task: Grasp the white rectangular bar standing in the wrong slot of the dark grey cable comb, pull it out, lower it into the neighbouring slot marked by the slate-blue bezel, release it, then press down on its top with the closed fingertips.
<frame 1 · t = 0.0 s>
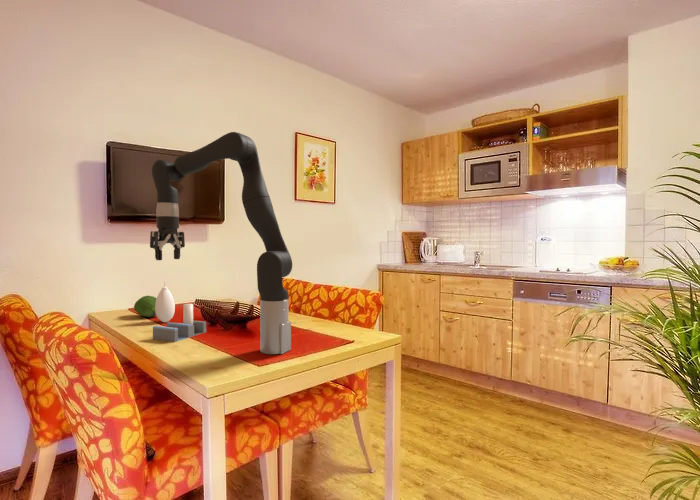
hand: (168, 259, 147), 29 cm above the table, fingers open, 8 cm apart
white rectangular bar: (188, 333, 152), point 1 cm above the table, touching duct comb
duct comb: (180, 338, 148), on the table
fruit: (147, 317, 188), on the table
white egg candle: (165, 322, 176), on the table
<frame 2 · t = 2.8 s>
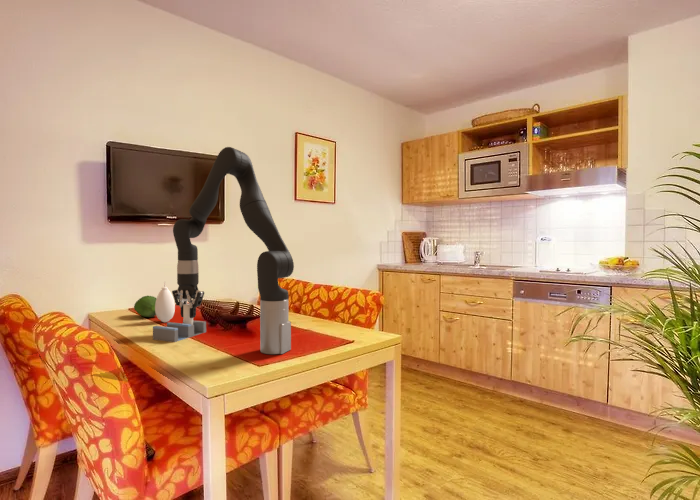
hand: (188, 316, 152), 7 cm above the table, fingers closed on white rectangular bar, 3 cm apart
white rectangular bar: (188, 333, 152), point 1 cm above the table, touching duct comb, gripper
everything else where it was.
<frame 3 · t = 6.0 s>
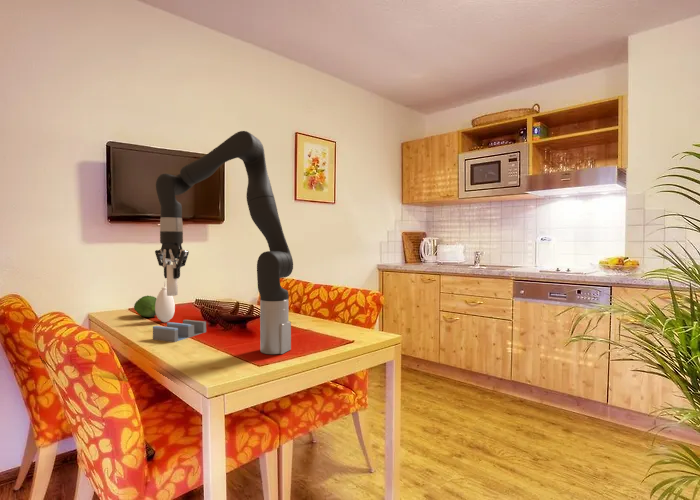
hand: (171, 278, 144), 23 cm above the table, fingers closed on white rectangular bar, 3 cm apart
white rectangular bar: (172, 295, 144), point 17 cm above the table, touching gripper
everything else where it was.
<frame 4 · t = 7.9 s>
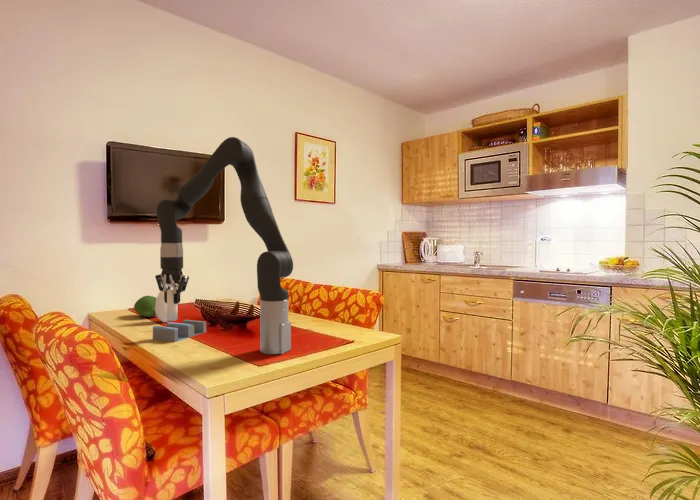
hand: (172, 302, 144), 14 cm above the table, fingers closed on white rectangular bar, 3 cm apart
white rectangular bar: (172, 319, 145), point 8 cm above the table, touching gripper
everything else where it was.
when the fingers open (8 cm above the table, at t = 9.6 s): white rectangular bar stays where it is, resting on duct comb.
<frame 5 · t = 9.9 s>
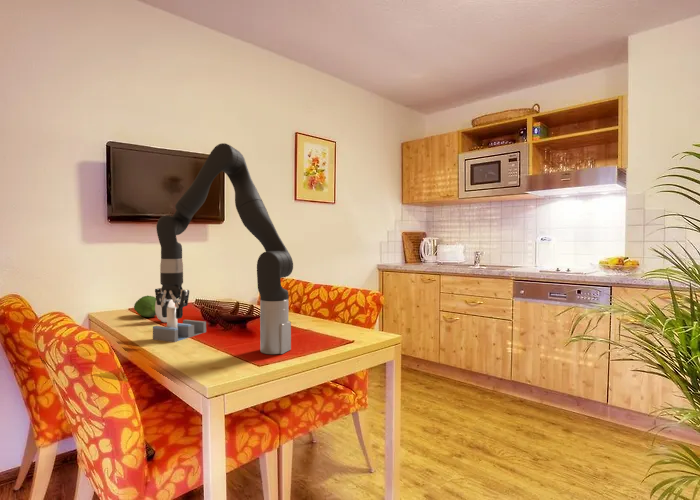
hand: (172, 317, 144), 9 cm above the table, fingers open, 5 cm apart
white rectangular bar: (172, 337, 145), point 1 cm above the table, touching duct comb
everything else where it was.
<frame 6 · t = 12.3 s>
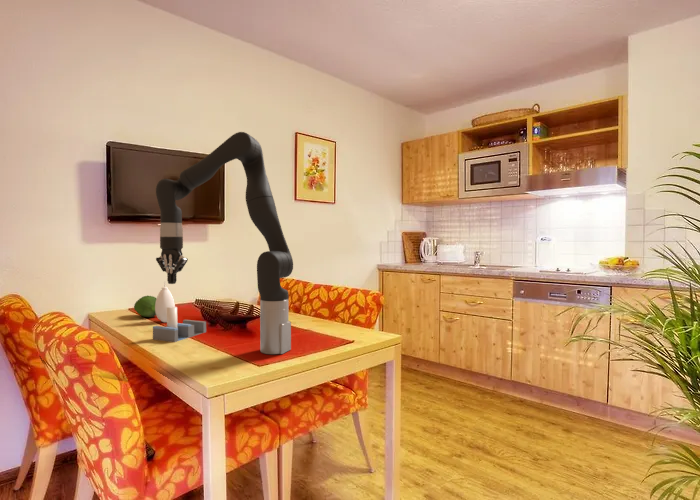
hand: (171, 283, 144), 21 cm above the table, fingers closed
nothing on the table moved.
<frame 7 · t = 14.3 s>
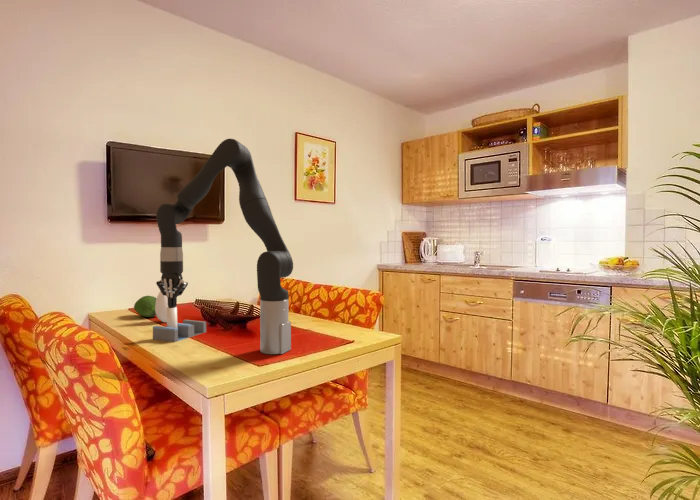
hand: (172, 307, 144), 12 cm above the table, fingers closed
white rectangular bar: (172, 337, 145), point 1 cm above the table, touching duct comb, gripper
everything else where it was.
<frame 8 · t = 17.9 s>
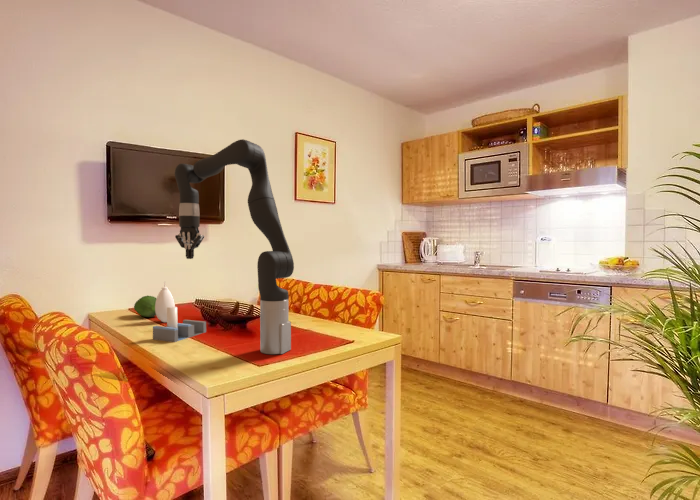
hand: (189, 258, 159), 29 cm above the table, fingers closed
white rectangular bar: (172, 337, 145), point 1 cm above the table, touching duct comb
everything else where it was.
at the end: white rectangular bar 0.0 cm from the target spot on the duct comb, point 1.1 cm above the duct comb's base; white rectangular bar tilted 0°; the gripper is holding nothing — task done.
